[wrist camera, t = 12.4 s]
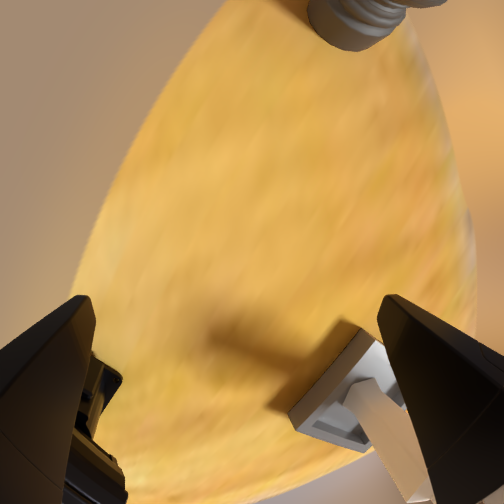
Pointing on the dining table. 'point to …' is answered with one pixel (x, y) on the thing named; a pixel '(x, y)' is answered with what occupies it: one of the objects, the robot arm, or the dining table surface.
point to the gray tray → (345, 394)
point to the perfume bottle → (391, 439)
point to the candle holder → (360, 20)
